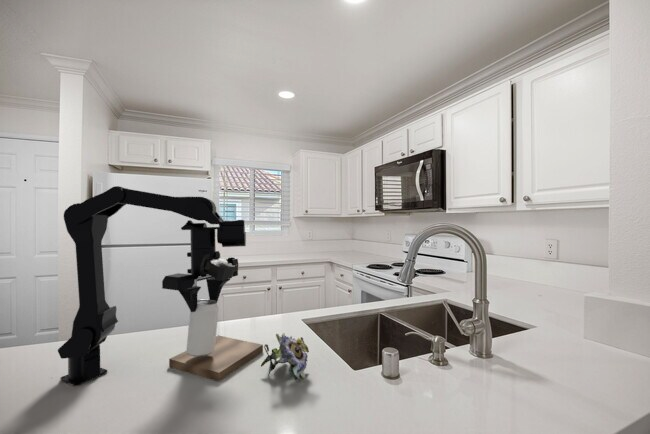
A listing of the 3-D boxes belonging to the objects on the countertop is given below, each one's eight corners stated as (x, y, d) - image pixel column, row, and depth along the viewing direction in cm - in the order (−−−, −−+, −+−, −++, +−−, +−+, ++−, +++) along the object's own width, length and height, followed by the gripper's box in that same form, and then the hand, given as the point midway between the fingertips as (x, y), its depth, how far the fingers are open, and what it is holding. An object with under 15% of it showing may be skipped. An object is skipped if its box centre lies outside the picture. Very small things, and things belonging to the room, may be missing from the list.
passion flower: (301, 401, 67) (308, 374, 60) (253, 394, 67) (255, 366, 60) (307, 354, 76) (314, 327, 70) (265, 347, 76) (268, 319, 69)
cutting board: (169, 367, 72) (169, 358, 72) (218, 342, 87) (218, 335, 87) (218, 381, 65) (218, 372, 65) (262, 352, 80) (262, 344, 80)
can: (202, 358, 68) (207, 306, 69) (179, 354, 70) (185, 302, 71) (220, 349, 75) (224, 301, 75) (198, 345, 76) (203, 298, 77)
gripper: (195, 253, 62) (196, 328, 62) (253, 245, 78) (254, 304, 78) (160, 251, 66) (161, 321, 66) (221, 244, 83) (222, 299, 83)
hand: (204, 310), depth 73 cm, fingers closed on can, 6 cm apart
